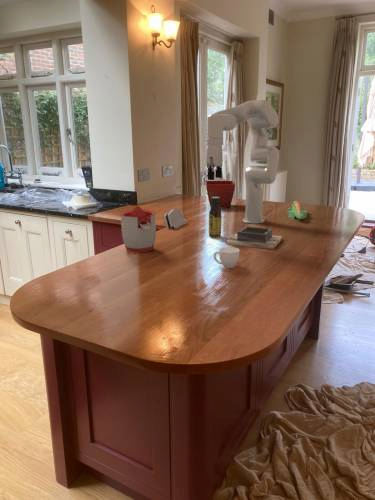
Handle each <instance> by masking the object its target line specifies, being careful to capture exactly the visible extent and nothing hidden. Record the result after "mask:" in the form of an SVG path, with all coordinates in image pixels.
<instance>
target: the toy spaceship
mask: <svg viewBox="0 0 375 500" xmlns="http://www.w3.org/2000/svg"><path fill="white" fill-rule="evenodd" d="M287 214H288V218H289V219H293V220H294V219H295V218H297V219H298V220H303V219H306V218H307V214H308V211H307V210H306V208H303V207H302V206H301V203H300V202H299V201H298V200H295V201H293V202H292V203H291V207H288V208H287Z"/></svg>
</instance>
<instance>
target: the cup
mask: <svg viewBox="0 0 375 500" xmlns="http://www.w3.org/2000/svg"><path fill="white" fill-rule="evenodd" d="M240 250H241V249H240V248H238V247H233V246H231V247H230V246H225V247H224V246H223V247H221V248H219V251H215V252H214V253H213V259H214V261H215V262H216V263H217V264H220V265H223V267H224V268H226V269H232V268H235V267H236V265H238V262H239V260H240V252H241V251H240ZM217 255H219V259H220V261H219V259H217V257H216V256H217Z"/></svg>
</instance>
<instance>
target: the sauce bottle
mask: <svg viewBox="0 0 375 500" xmlns="http://www.w3.org/2000/svg"><path fill="white" fill-rule="evenodd" d="M211 200H212V206H211V207H210V209H209V211H208V236H209V237H210V238H220V237H221V236H222V220H223V218H222V210H221V209H222V208H220V207H219V201H220V197H212V198H211Z"/></svg>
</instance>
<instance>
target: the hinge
mask: <svg viewBox="0 0 375 500" xmlns="http://www.w3.org/2000/svg"><path fill="white" fill-rule="evenodd" d="M163 220H164V222H165V225H166V229H170V228H174V230H176V229H178V228H180V227H182V226H185V225H186V224H188V221H187V219H185V217H184V215H183V212H182V210H181V209H177V208H175V209H171V210H168V211H167V212H166V213H165V214H164V216H163Z"/></svg>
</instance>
